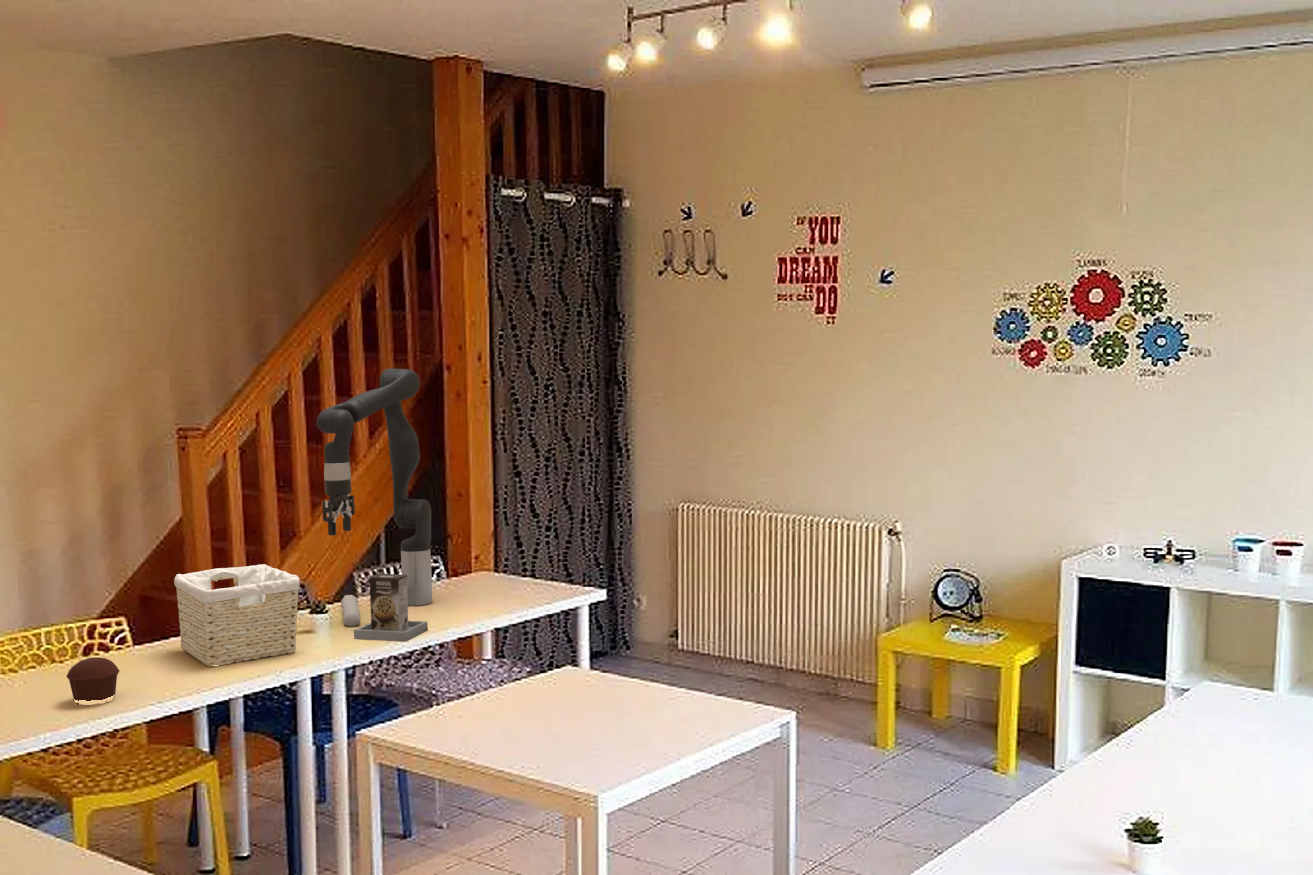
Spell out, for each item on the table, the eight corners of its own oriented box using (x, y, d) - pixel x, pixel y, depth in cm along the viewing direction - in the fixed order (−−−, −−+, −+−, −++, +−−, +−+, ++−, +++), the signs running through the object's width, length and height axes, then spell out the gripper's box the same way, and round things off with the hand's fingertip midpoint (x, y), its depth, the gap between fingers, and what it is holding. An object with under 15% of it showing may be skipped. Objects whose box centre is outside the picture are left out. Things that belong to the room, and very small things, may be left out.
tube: (363, 614, 386) (360, 596, 410) (345, 609, 385) (343, 592, 409) (358, 631, 386) (355, 613, 410) (340, 627, 385) (338, 609, 409)
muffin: (109, 691, 322) (106, 650, 321) (129, 699, 314) (127, 658, 313) (59, 701, 313) (57, 660, 312) (79, 710, 305) (76, 668, 304)
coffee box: (370, 633, 373) (368, 577, 372) (380, 627, 380) (378, 572, 378) (399, 634, 371) (397, 578, 370) (409, 629, 377) (407, 573, 376)
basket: (306, 653, 355) (302, 574, 354) (206, 670, 339) (202, 587, 338) (269, 636, 377) (266, 561, 375) (174, 651, 361) (170, 573, 359)
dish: (377, 627, 384) (377, 619, 384) (427, 630, 380) (427, 621, 380) (354, 638, 371) (353, 630, 371) (405, 641, 367) (405, 632, 366)
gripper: (336, 481, 374) (339, 537, 375) (361, 475, 387) (363, 529, 389) (313, 480, 376) (315, 536, 377) (338, 474, 389) (340, 529, 391)
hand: (339, 533), depth 383 cm, fingers open, 8 cm apart
